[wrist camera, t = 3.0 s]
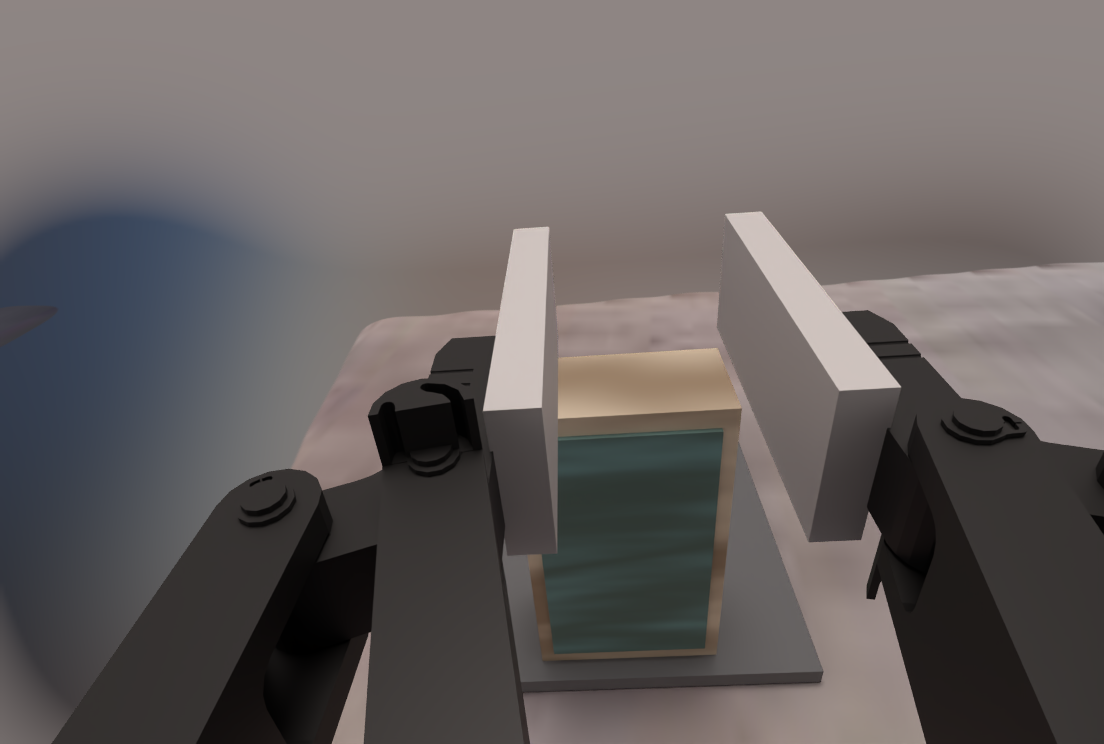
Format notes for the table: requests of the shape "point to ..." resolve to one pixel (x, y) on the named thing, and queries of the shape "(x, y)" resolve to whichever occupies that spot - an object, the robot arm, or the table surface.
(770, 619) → the mat
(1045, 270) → the table surface
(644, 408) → the block
